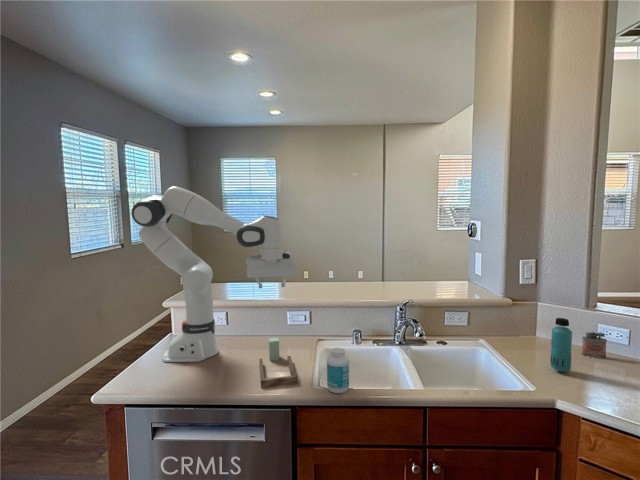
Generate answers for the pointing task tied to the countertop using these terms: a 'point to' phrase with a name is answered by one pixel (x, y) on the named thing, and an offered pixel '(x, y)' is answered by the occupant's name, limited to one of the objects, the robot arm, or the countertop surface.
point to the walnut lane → (278, 380)
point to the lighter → (594, 345)
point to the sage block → (273, 349)
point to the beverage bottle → (561, 346)
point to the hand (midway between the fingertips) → (271, 287)
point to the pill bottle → (338, 371)
